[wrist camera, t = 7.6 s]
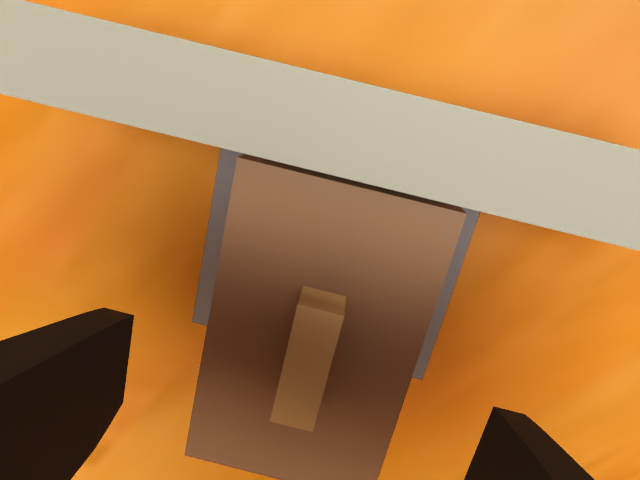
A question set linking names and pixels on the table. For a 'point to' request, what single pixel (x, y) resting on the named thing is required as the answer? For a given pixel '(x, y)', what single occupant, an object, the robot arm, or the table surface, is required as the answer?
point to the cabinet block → (316, 321)
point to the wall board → (320, 132)
